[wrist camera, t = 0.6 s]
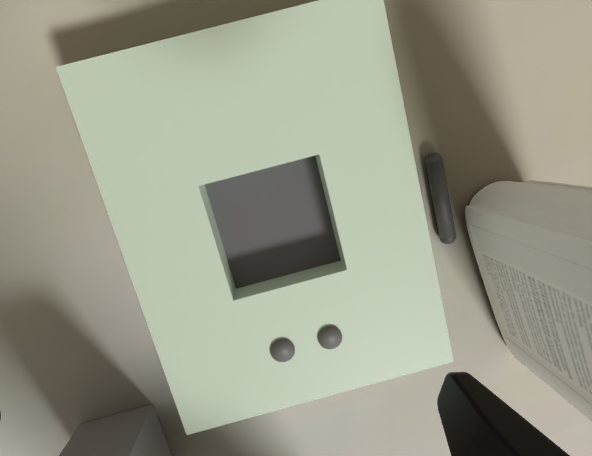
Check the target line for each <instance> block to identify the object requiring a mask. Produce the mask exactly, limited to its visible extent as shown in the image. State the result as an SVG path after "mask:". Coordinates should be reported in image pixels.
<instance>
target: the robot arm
mask: <svg viewBox="0 0 592 456" xmlns="http://www.w3.org/2000/svg"><path fill="white" fill-rule="evenodd" d="M437 405H438V410H439V414H440V418H441V421H442V425H443V428H444V432H445V435H446V439H447V442H448V446H449V449H450V453H451V456H570V455H568V454H567V453H566V452H565V451H563V450H562V449H561V448H560V447H558V446H557V445H556V444H555V443H554V442H552V441H551V440H550V439H549V438H547V437H546V436H545V435H544V434H543V433H541V432H540V431H539V430H538V429H536V428H535V427H534V426H533V425H532V424H530V423H529V422H528V421H527V420H525V419H524V418H523V417H522V416H521V415H519V414H518V413H517V412H516V411H514V410H513V409H512V408H511V407H509V406H508V405H507V404H506V403H505V402H503V401H502V400H501V399H500V398H498V397H497V396H496V395H495V394H494V393H492V392H491V391H490V390H489V389H487V388H486V387H485V386H484V385H483V384H481V383H480V382H479V381H478V380H476V379H475V378H474V377H473V376H471V375H470V374H468V373H466V372H451V373H448V374H447V375H446V377H445V380H444V382H443V385H442V388H441V390H440V393H439V396H438V401H437ZM0 419H1V412H0Z"/></svg>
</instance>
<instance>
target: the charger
mask: <svg viewBox="0 0 592 456" xmlns="http://www.w3.org/2000/svg"><path fill="white" fill-rule="evenodd" d="M59 456H172V455H171V452H170V449H169V447H168V444H167V441H166V439H165V436H164V433H163V430H162V428H161V425H160V422H159V420H158V417H157V414H156V411H155V409H154V406H153V404H150V405H147V406H143V407H139V408H136V409H132V410H129V411H125V412H121V413H118V414H114V415H110V416H107V417H103V418H99V419H96V420H92V421H88V422H85V423H81V424H80V426H79V427H78V429H77V430H76V432H75V433H74V435H73V436H72V437H71V439H70V440H69V442H68V443H67V445H66V446H65V448H64V449H63V451H62V452H61V454H60V455H59Z"/></svg>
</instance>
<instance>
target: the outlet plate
mask: <svg viewBox="0 0 592 456" xmlns="http://www.w3.org/2000/svg"><path fill="white" fill-rule="evenodd" d="M56 69H57V72H58V75H59V78H60V80H61V83H62V86H63V89H64V92H65V94H66V97H67V100H68V103H69V106H70V109H71V111H72V114H73V117H74V120H75V123H76V125H77V128H78V131H79V134H80V137H81V139H82V142H83V145H84V148H85V151H86V154H87V156H88V159H89V162H90V165H91V168H92V170H93V173H94V176H95V179H96V182H97V185H98V187H99V190H100V193H101V196H102V199H103V201H104V204H105V207H106V210H107V213H108V215H109V218H110V221H111V224H112V227H113V230H114V232H115V235H116V238H117V241H118V244H119V246H120V249H121V252H122V255H123V258H124V261H125V263H126V266H127V269H128V272H129V275H130V277H131V280H132V283H133V286H134V289H135V292H136V294H137V297H138V300H139V303H140V306H141V308H142V311H143V314H144V317H145V320H146V322H147V325H148V328H149V331H150V334H151V337H152V339H153V342H154V345H155V348H156V351H157V353H158V356H159V359H160V362H161V365H162V368H163V370H164V373H165V376H166V379H167V382H168V384H169V387H170V390H171V393H172V396H173V398H174V401H175V404H176V407H177V410H178V413H179V415H180V418H181V421H182V424H183V427H184V429H185V432H186V435H190V434H193V433H197V432H201V431H204V430H208V429H211V428H215V427H219V426H222V425H226V424H230V423H233V422H237V421H240V420H244V419H248V418H251V417H255V416H258V415H262V414H266V413H269V412H273V411H277V410H280V409H284V408H287V407H291V406H295V405H298V404H302V403H306V402H309V401H313V400H316V399H320V398H324V397H327V396H331V395H335V394H338V393H342V392H345V391H349V390H353V389H356V388H360V387H363V386H367V385H371V384H374V383H378V382H382V381H385V380H389V379H392V378H396V377H400V376H403V375H407V374H411V373H414V372H418V371H421V370H425V369H429V368H432V367H436V366H439V365H443V364H447V363H450V362H454V360H453V355H452V350H451V345H450V340H449V334H448V329H447V324H446V319H445V314H444V309H443V303H442V298H441V293H440V288H439V283H438V278H437V273H436V267H435V262H434V257H433V252H432V247H431V242H430V236H429V231H428V226H427V221H426V216H425V211H424V205H423V200H422V195H421V190H420V185H419V180H418V175H417V169H416V164H415V159H414V154H413V149H412V144H411V138H410V133H409V128H408V123H407V118H406V113H405V108H404V102H403V97H402V92H401V87H400V82H399V77H398V71H397V66H396V61H395V56H394V51H393V46H392V41H391V35H390V30H389V25H388V20H387V15H386V10H385V4H384V0H318V1H314V2H310V3H306V4H302V5H298V6H294V7H290V8H286V9H282V10H278V11H274V12H270V13H266V14H262V15H258V16H255V17H251V18H247V19H243V20H239V21H235V22H231V23H227V24H223V25H219V26H215V27H211V28H207V29H203V30H199V31H195V32H191V33H188V34H184V35H180V36H176V37H172V38H168V39H164V40H160V41H156V42H152V43H148V44H144V45H140V46H136V47H132V48H128V49H124V50H121V51H117V52H113V53H109V54H105V55H101V56H97V57H93V58H89V59H85V60H81V61H77V62H73V63H69V64H65V65H61V66H57V67H56ZM425 163H426V168H427V174H428V179H429V184H430V189H431V195H432V200H433V205H434V211H435V216H436V221H437V226H438V232H439V237H440V240H441V241H442V242H443V243H445V244H451V243H453V242H454V241H455V239H456V233H455V228H454V222H453V217H452V211H451V206H450V200H449V195H448V189H447V184H446V178H445V172H444V167H443V161H442V157H441V156H440V155H439V154H438V153H430V154H429V155H428V156H427V157H426V159H425Z"/></svg>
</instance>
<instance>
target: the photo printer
mask: <svg viewBox="0 0 592 456" xmlns="http://www.w3.org/2000/svg"><path fill="white" fill-rule="evenodd" d="M465 217H466V223H467V229H468V233H469V237H470V240H471V244H472V247H473V251H474V254H475V257H476V260H477V263H478V267H479V270H480V273H481V276H482V279H483V282H484V285H485V288H486V291H487V294H488V297H489V300H490V303H491V306H492V309H493V312H494V316H495V318H496V321H497V323H498V326H499V329H500V331H501V334H502V336H503V339H504V341H505V343H506V344H507V346H508V348H509V349H510V351H511V352H512V354H513V355H514V356H515V357H516V359H517V360H519V361H520V362H521V363H522V364H523V365H524V366H526V367H527V368H528V369H529V370H530V371H532V372H533V373H534V374H535V375H536V376H538V377H539V378H540V379H541V380H543V381H544V382H545V383H546V384H548V385H549V386H550V387H551V388H552V389H554V390H555V391H556V392H557V393H558V394H559V395H561V396H562V397H563V398H564V399H565V400H567V401H568V402H569V403H570V404H572V405H573V406H574V407H575V408H576V409H577V410H579V411H580V412H581V413H582V414H584V415H585V416H586V417H587V418H588V419H590V420H591V421H592V187H586V186H577V185H570V184H561V183H552V182H542V181H524V182H514V181H499V182H495V183H491V184H489V185H487V186H486V187H484V188H482V189H481V190H480V191H479V192H478V193H477V194H476V195H475V196H474V197H473V198H472V200H471V201H470V205H468V206H466V207H465Z"/></svg>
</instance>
